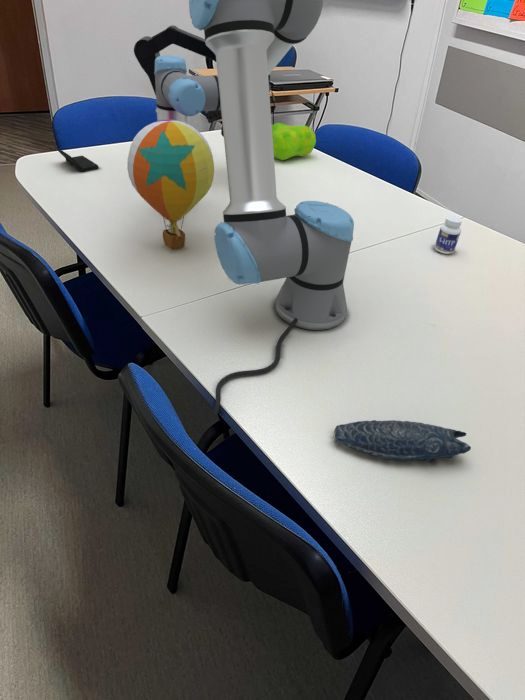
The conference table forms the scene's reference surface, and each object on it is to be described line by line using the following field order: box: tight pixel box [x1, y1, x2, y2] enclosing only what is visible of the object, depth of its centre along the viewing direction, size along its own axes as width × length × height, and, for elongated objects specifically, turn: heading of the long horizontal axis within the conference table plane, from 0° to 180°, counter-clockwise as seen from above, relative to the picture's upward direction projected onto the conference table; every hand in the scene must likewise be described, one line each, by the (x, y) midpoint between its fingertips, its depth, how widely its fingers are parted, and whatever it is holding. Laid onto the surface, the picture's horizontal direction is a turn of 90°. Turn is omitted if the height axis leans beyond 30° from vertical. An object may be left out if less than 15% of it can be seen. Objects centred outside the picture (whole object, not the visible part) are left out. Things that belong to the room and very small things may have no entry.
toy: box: [126, 119, 215, 251], centre depth 121 cm, size 20×20×30 cm
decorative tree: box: [272, 122, 317, 161], centre depth 187 cm, size 18×10×30 cm
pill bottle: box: [434, 215, 463, 255], centre depth 137 cm, size 5×5×9 cm
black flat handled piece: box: [53, 145, 99, 172], centre depth 166 cm, size 12×7×10 cm
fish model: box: [333, 419, 472, 462], centre depth 82 cm, size 7×21×5 cm, turn 84°
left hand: (232, 151), depth 163 cm, fingers open, 9 cm apart
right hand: (174, 208), depth 148 cm, fingers open, 8 cm apart
